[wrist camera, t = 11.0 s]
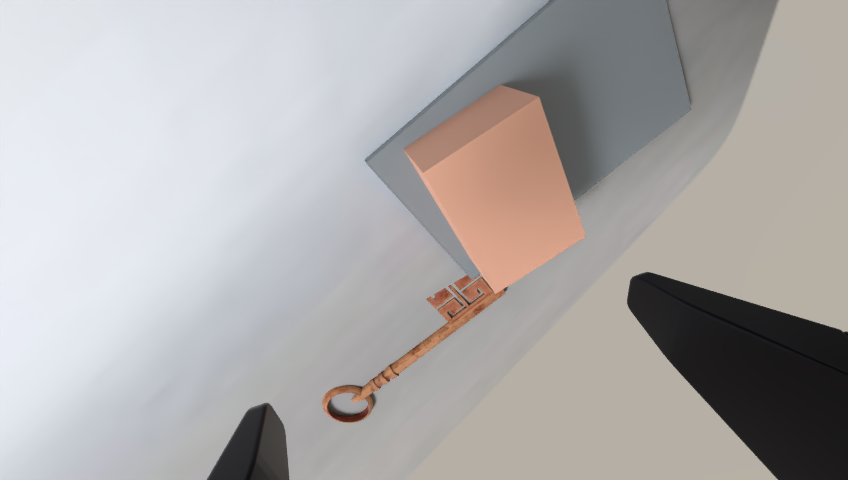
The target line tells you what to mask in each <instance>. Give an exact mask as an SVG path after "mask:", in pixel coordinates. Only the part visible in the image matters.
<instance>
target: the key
mask: <svg viewBox="0 0 848 480" xmlns="http://www.w3.org/2000/svg"><path fill="white" fill-rule="evenodd" d="M478 276H479V275H478ZM478 276H477V277H478ZM477 277H475V278H474V279H476V278H477ZM474 279H473V280H474ZM473 280H472V279H471V278H470V277H469V276H468V275H467V276H465V277H463V278H462V279H460V280H458V281H456V282H455V283H454V284H455V285H456V286H457V287H458V288H459V290H461V289H462V288H464V287H465V286H466V285H468V284H469V283H470V282H472V281H473ZM448 287H449V288H450V289H451V290H452V291H453V292H454V293H455V294H456V296H457V297H458V298H459V299H460V300H461V301H462V302H463V303H464V304H465V305H466V307H464V308H463V307H462V306H461V305H460V304H459V303H458V301H457V300H456V299H455V298H453V299H451V300H450V301H449V302H447V303H446V304H445V305H443V306H442V307H441V308H439V309H438V312H439V313H440V314H441V315H442V316H443V317H444V318H445V319H446V320H447V321H448V323H447V324H445V325H444V326H443V327H441V328H440V329H439V330H437V331H436V332H435V333H433V334H432V335H431V336H429V337H428V338H427V339H425V340H424V341H423V342H421V343H420V344H419V345H417V346H416V347H415V348H413V349H412V350H411V351H409V352H408V353H407V354H405V355H404V356H403V357H401V358H400V359H399V360H397V361H396V362H395V363H393V364H392V365H391V366H390V365H389V366H388V367H387V368H386V369H385V371H384V372H381V373H380V374H378V376H377V377H376V378H374V379H372V380H370V382H369V383H368V384H366V385H365V386H364V387H362V388H359V387H356V386H339V387H336V388H334V389H332V390H330V391H329V392H327V393H326V395H325V396H324V398H323V401H322V405H323V408H324V411H325V412H326V413H327V415H328V416H329V417H331V418H332V419H334V420H336V421H339V422H343V423H354V422H358V421H361V420H363V419H365V418H366V417H367V416H368V415H369V414H370V413H371V411H372V408H373V401H372V398H371V396H370V394H371V393H373V392H374V391H377V390H378V389H380V388H381V386H382V385H383V384H386V383H388V382H389V381H390V379H393V378H395V377H397V376H399V373H400V372H402V371H403V370H404V369H406V368H407V367H408V366H410V365H411V364H412V363H414V362H415V361H416V360H418V359H419V358H420V357H422V356H423V355H424V354H426V353H427V352H428V351H429V350H431V349H432V348H433V347H435V346H436V345H437V344H439V343H440V342H441V341H443V340H444V339H445V338H447V337H448V336H449V335H451V334H452V333H453V332H455V331H456V330H457V329H459V328H460V327H461V326H463V325H464V324H465V323H467V322H468V321H469V320H471V319H472V318H473V317H475V316H476V315H477V314H479V313H480V312H481V311H483V310H484V309H485V308H487V307H488V306H489V305H491V304H492V303H493V302H494V301H496V300H497V299H498V298H500V297H501V296H502V295H504V294H505V292H504V290H501V291H500V292H498V293H496V294H495V293H494V291H493V290H491V289H490V287H489V286H488V285H487V284H486V283H485V281H484V280H483V279H482V278H479V279H478V280H477V281H475V282H474V283H473V284H471V285H470V286H469V287H467V288H466V289H465V290H463V291H462V293H463V294H464V295H465V296H466V297H467V299H468V300H469V301H470V302H471V301H472V300H473V299H474V298H476V297H477V296H478V295H480V294H479V293H478V291H477V289H478V288H480V290H481V291H482V292H483V294H482V295H481V296H479V297H478V298H477V299H475V300H474V301H473V302H471V303H470V304H468V303H467V302H466V301H465V300H464V299H463V298H462V297H461V296H460V295H459V294H458V292H457V291H456V290H455V289H454V288H453V287H452V286H451V285H450V286H448ZM434 295H435V298H434V299H432V298H431V297H429V298H427V300H428V301H429V302H430V303H431V304H432V305H433V306H434V307H435V309H436V308H438V307H439V306H440V305H442V304H443V303H444V302H445V301H447V300H448V299H449V298H451V297H452V295H451V294H450V293H449V292H448V291H447V290H446V289H445V288H444V289H443V290H441V291H439V292H438V293H436V294H434ZM461 308H463V309H462V310H460V309H461ZM459 310H460V311H459ZM448 311H450V312H451V313H452V314H455V313H456V312H457V311H459V312H458V313H456V314H455V315H454V316H452V317H450V316H449V315H448V314H447V312H448ZM341 393H355V396H354V397H353V399H352V402H357V401H361V400H363V399H366V401H367V402H368V406H367V408H366V409H365V410H364V411H363V412H361V413H359V414H357V415H353V416H340V415H337V414H334V413H333V412H331V411H330V410H329V409H328V407H327V404H328V402H329V400H330V399H331V398H332V397H334V396H335V395H338V394H341Z"/></svg>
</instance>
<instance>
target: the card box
mask: <svg viewBox="0 0 848 480" xmlns="http://www.w3.org/2000/svg"><path fill="white" fill-rule="evenodd" d="M404 151H405V153H406V154H407V156H408V158H409V159H410V161H411V162H412V164H413V166H414V167H415V169H416V171H417V172H418V174H419V176H420V177H421V179H422V181H423V182H424V184H425V185H426V187H427V189H428V190H429V192H430V194H431V195H432V197H433V199H434V200H435V202H436V203H437V205H438V207H439V208H440V210H441V212H442V213H443V215H444V217H445V218H446V220H447V221H448V223H449V225H450V226H451V228H452V230H453V231H454V233H455V235H456V236H457V238H458V239H459V241H460V243H461V244H462V246H463V248H464V249H465V251H466V253H467V254H468V256H469V258H470V259H471V260H472V262H473V263H474V265H475V266H476V267H477V269H478V270H479V272H480V273H481V274H482V276H483V277H484V279H485V280H486V281H487V283H488V284H489V286H490V287H491V288H492V290H493V291H494V293H495V294H496V293H498V292H500V291H501V290H503V289H504V288H506V287H507V286H509V285H511V284H512V283H514V282H515V281H517V280H518V279H520V278H522V277H523V276H525V275H526V274H528V273H530V272H531V271H533V270H534V269H536V268H537V267H539V266H541V265H542V264H544V263H545V262H547V261H548V260H550V259H552V258H553V257H555V256H556V255H558V254H559V253H561V252H563V251H564V250H566V249H567V248H569V247H571V246H572V245H574V244H575V243H577V242H578V241H580V240H582V239H583V238H585V237H586V235H585V232H584V229H583V226H582V223H581V220H580V217H579V214H578V211H577V208H576V205H575V202H574V199H573V196H572V193H571V190H570V187H569V184H568V181H567V178H566V175H565V172H564V169H563V166H562V163H561V160H560V157H559V154H558V152H557V149H556V146H555V143H554V140H553V137H552V134H551V131H550V128H549V125H548V122H547V119H546V116H545V113H544V110H543V107H542V104H541V101H540V98H539V97H538V96H535V95H532V94H528V93H525V92H522V91H519V90H516V89H512V88H509V87H506V86H503V85H499V86H498V87H496V88H494V89H493V90H491V91H490V92H488V93H487V94H485V95H484V96H482V97H481V98H479V99H478V100H476V101H475V102H473V103H472V104H470V105H469V106H467V107H466V108H464V109H463V110H461V111H460V112H458V113H457V114H455V115H454V116H452V117H451V118H449V119H448V120H446V121H444V122H443V123H441V124H440V125H438V126H437V127H435V128H434V129H432V130H431V131H429V132H428V133H426V134H425V135H423V136H422V137H420V138H419V139H417V140H416V141H414V142H413V143H411V144H410V145H408V146H407V147H405V148H404Z"/></svg>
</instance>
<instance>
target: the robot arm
mask: <svg viewBox="0 0 848 480" xmlns="http://www.w3.org/2000/svg"><path fill="white" fill-rule="evenodd" d="M627 304H628V307H629V309H630V310H631V312H632V313H633V314H634V316H635V317H636V318H637V320H638V321H639V322H640V324H641V325H642V326H643V328H644V329H645V330H646V332H647V333H648V334H649V336H650V337H651V338H652V339H653V341H654V342H655V344H656V345H657V346H658V347H659V349H660V350H661V351H662V353H663V354H664V355H665V356H666V358H667V359H668V360H669V361H670V362H671V364H672V365H673V366H674V367H675V368H676V369H677V370H678V371H679V373H680V374H681V375H682V376H683V377H684V378H685V379H686V380H687V381H688V382H689V383H690V385H691V386H692V387H693V388H694V389H695V390H696V391H697V392H698V393H699V394H700V395H701V396H702V397H703V399H704V400H705V401H706V402H707V403H708V404H709V405H710V406H711V407H712V408H713V409H714V411H715V412H716V413H717V414H718V415H719V416H720V417H721V418H722V419H723V420H724V422H725V423H726V424H727V425H728V426H729V427H730V428H731V429H732V430H733V431H734V432H735V433H736V435H737V436H738V437H739V438H740V439H741V440H742V441H743V442H744V443H745V444H746V445H747V447H748V448H749V449H750V450H751V451H752V452H753V453H754V454H755V455H756V456H757V457H758V459H759V460H760V461H761V462H762V463H763V464H764V465H765V466H766V467H767V468H768V469H769V470H770V471H771V473H772V474H773V475H774V476H775V477H776V478H777V479H778V480H848V332H842V331H841V330H839V329H836V328H833V327H829V326H826V325H823V324H819V323H816V322H813V321H809V320H806V319H803V318H799V317H796V316H793V315H790V314H786V313H783V312H780V311H776V310H773V309H770V308H766V307H763V306H760V305H756V304H753V303H750V302H747V301H743V300H740V299H736V298H733V297H730V296H727V295H723V294H720V293H717V292H714V291H710V290H707V289H704V288H700V287H697V286H694V285H690V284H687V283H684V282H680V281H677V280H674V279H670V278H667V277H664V276H661V275H657V274H654V273H650V272H646V273H642V274H639V275H636V276H634V277H632V279H631V280H630V286H629V292H628V298H627ZM207 480H289V469H288V457H287V446H286V434H285V429H284V425H283V423H282V421H281V420H280V418H279V417H278V415H277V414H276V412H275V411H274V409H273V408H272V406H271V405H270V404H269V403H264V404H261V405H258V406H255V407H252V408H250V409H249V410H248V411H247V412H246V413H245V415H244V417H243V419H242V420H241V422H240V424H239V425H238V427H237V429H236V430H235V432H234V434H233V436H232V437H231V439H230V441H229V442H228V444H227V446H226V448H225V449H224V451H223V453H222V454H221V456H220V458H219V460H218V461H217V463H216V465H215V466H214V468H213V470H212V472H211V473H210V475H209V477H208V478H207Z"/></svg>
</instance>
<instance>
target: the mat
mask: <svg viewBox="0 0 848 480" xmlns="http://www.w3.org/2000/svg"><path fill="white" fill-rule="evenodd" d="M499 85H503V86H506V87H509V88H512V89H516V90H519V91H522V92H525V93H528V94H532V95H535V96H538V97H539V98H540V101H541V104H542V107H543V110H544V113H545V116H546V119H547V122H548V125H549V128H550V131H551V134H552V137H553V140H554V143H555V146H556V149H557V152H558V154H559V157H560V160H561V163H562V166H563V169H564V172H565V175H566V178H567V181H568V184H569V187H570V190H571V193H572V196H573V199H574V200H575V199H577V198H578V197H579V196H580V195H582V194H583V193H584V192H586V191H587V190H588V189H589V188H591V187H592V186H593V185H595V184H596V183H597V182H598V181H600V180H601V179H602V178H604V177H605V176H606V175H607V174H609V173H610V172H611V171H613V170H614V169H615V168H616V167H618V166H619V165H620V164H622V163H623V162H624V161H625V160H627V159H628V158H629V157H630V156H632V155H633V154H634V153H636V152H637V151H638V150H639V149H641V148H642V147H643V146H645V145H646V144H647V143H648V142H650V141H651V140H652V139H654V138H655V137H656V136H657V135H659V134H660V133H661V132H663V131H664V130H665V129H666V128H668V127H669V126H670V125H672V124H673V123H674V122H675V121H677V120H678V119H679V118H681V117H682V116H683V115H684V114H686V113H687V112H688V111H689V110H691V105H690V101H689V97H688V92H687V88H686V84H685V79H684V75H683V71H682V66H681V62H680V58H679V54H678V49H677V45H676V41H675V36H674V32H673V28H672V23H671V19H670V15H669V10H668V6H667V2H666V0H551V1H549V2H548V3H547V4H546V5H545V6H544V7H542V8H541V9H540V10H539V11H538V12H537V13H535V14H534V15H533V16H532V17H531V18H530V19H528V20H527V21H526V22H525V23H524V24H523V25H521V26H520V27H519V28H518V29H517V30H516V31H514V32H513V33H512V34H511V35H510V36H509V37H507V38H506V39H505V40H504V41H503V42H502V43H500V44H499V45H498V46H497V47H496V48H495V49H494V50H492V51H491V52H490V53H489V54H488V55H487V56H485V57H484V58H483V59H482V60H481V61H480V62H478V63H477V64H476V65H475V66H474V67H473V68H471V69H470V70H469V71H468V72H467V73H466V74H464V75H463V76H462V77H461V78H460V79H459V80H457V81H456V82H455V83H454V84H453V85H452V86H450V87H449V88H448V89H447V90H446V91H445V92H443V93H442V94H441V95H440V96H439V97H438V98H436V99H435V100H434V101H433V102H432V103H431V104H429V105H428V106H427V107H426V108H425V109H424V110H422V111H421V112H420V113H419V114H418V115H417V116H415V117H414V118H413V119H412V120H411V121H410V122H408V123H407V124H406V125H405V126H404V127H403V128H401V129H400V130H399V131H398V132H397V133H396V134H394V135H393V136H392V137H391V138H390V139H389V140H387V141H386V142H385V143H384V144H383V145H382V146H380V147H379V148H378V149H377V150H376V151H375V152H373V153H372V154H371V155H370V156H369V157H368V158H366V159H365V162H366V163H367V165H368V166H369V167H370V168H371V169H372V170H373V171H374V172H375V173H376V174H377V176H378V177H379V178H380V179H381V180H382V181H383V182H384V183H385V184H386V186H387V187H388V188H389V189H390V190H391V191H392V192H393V193H394V194H395V195H396V197H397V198H398V199H399V200H400V201H401V202H402V203H403V204H404V205H405V206H406V208H407V209H408V210H409V211H410V212H411V213H412V214H413V215H414V216H415V218H416V219H417V220H418V221H419V222H420V223H421V224H422V225H423V226H424V227H425V229H426V230H427V231H428V232H429V233H430V234H431V235H432V236H433V237H434V239H435V240H436V241H437V242H438V243H439V244H440V245H441V246H442V247H443V248H444V250H445V251H446V252H447V253H448V254H449V255H450V256H451V257H452V258H453V259H454V261H455V262H456V263H457V264H458V265H459V266H460V267H461V268H462V269H463V271H464V272H465V273H466V274H467V275H468V276H469V277H470V278H471V279H472V280H473V279H474V278H475V277H477V276H478V275H479V274H480V272H479V270H478V269H477V267H476V266H475V265H474V263H473V262H472V260H471V259H470V258H469V256H468V254H467V253H466V251H465V249H464V248H463V246H462V244H461V243H460V241H459V239H458V238H457V236H456V235H455V233H454V231H453V230H452V228H451V226H450V225H449V223H448V221H447V220H446V218H445V217H444V215H443V213H442V212H441V210H440V208H439V207H438V205H437V203H436V202H435V200H434V199H433V197H432V195H431V194H430V192H429V190H428V189H427V187H426V185H425V184H424V182H423V181H422V179H421V177H420V176H419V174H418V172H417V171H416V169H415V167H414V166H413V164H412V162H411V161H410V159H409V158H408V156H407V154H406V153H405V151H404V148H405V147H407V146H408V145H410V144H411V143H413V142H414V141H416V140H417V139H419V138H420V137H422V136H423V135H425V134H426V133H428V132H429V131H431V130H432V129H434V128H435V127H437V126H438V125H440V124H441V123H443V122H444V121H446V120H448V119H449V118H451V117H452V116H454V115H455V114H457V113H458V112H460V111H461V110H463V109H464V108H466V107H467V106H469V105H470V104H472V103H473V102H475V101H476V100H478V99H479V98H481V97H482V96H484V95H485V94H487V93H488V92H490V91H491V90H493V89H494V88H496V87H498V86H499Z"/></svg>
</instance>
